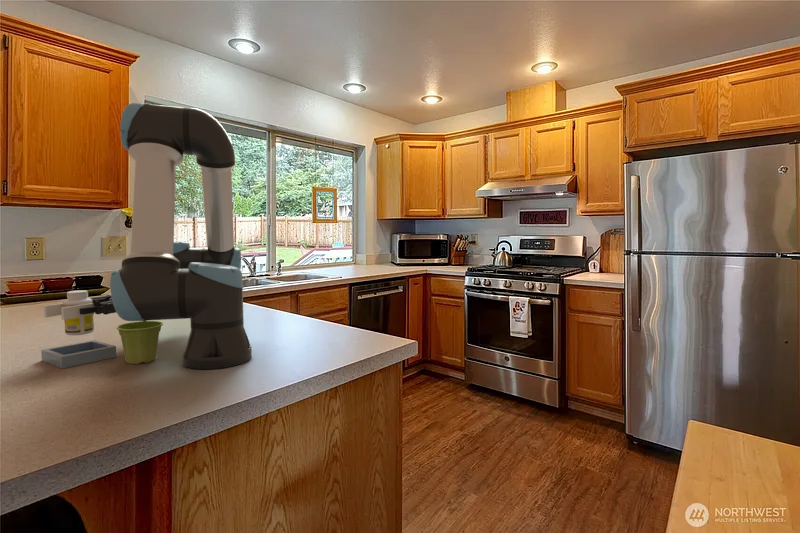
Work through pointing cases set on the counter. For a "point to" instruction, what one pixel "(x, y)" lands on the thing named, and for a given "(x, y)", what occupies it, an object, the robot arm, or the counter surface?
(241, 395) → the counter surface
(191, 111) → the robot arm
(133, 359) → the plant pot
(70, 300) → the supplement bottle
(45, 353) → the dish
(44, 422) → the counter surface
